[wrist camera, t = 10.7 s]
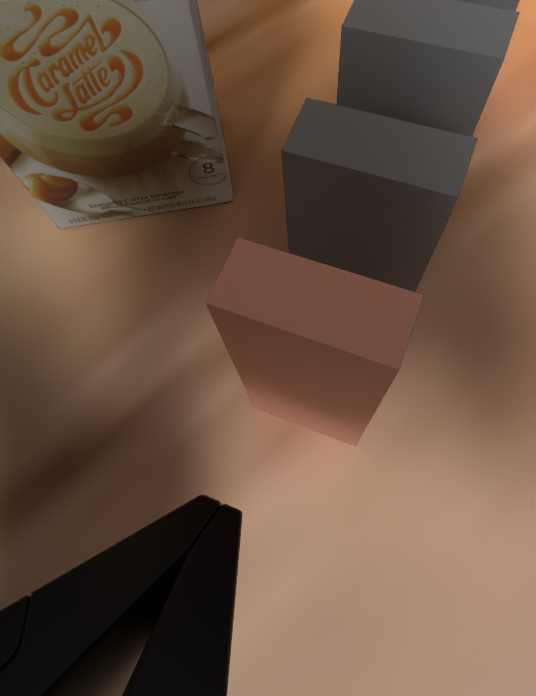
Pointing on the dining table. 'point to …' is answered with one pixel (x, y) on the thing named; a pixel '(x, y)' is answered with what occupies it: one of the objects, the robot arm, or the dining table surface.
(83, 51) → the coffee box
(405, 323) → the loose domino
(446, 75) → the domino
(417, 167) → the domino
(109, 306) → the dining table surface
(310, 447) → the dining table surface
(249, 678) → the dining table surface
